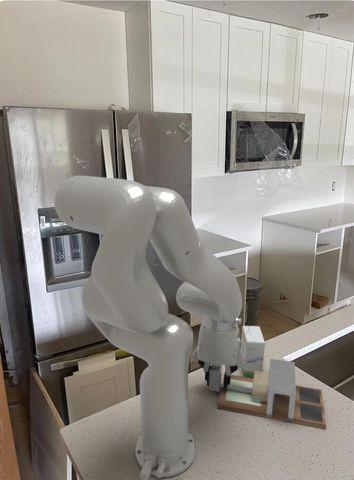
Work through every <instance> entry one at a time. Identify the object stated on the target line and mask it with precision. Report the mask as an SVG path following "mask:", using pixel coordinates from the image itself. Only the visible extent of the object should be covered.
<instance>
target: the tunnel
mask: <svg viewBox="0 0 354 480" xmlns="http://www.w3.org/2000/svg"><path fill="white" fill-rule="evenodd" d="M295 362H296V361H295ZM295 362H294V361H287V360H283V359H282V360H281V359H276V358H270V359H269V372H268V373H269V387H268V400H267V414H268V415H267V414H266V419H270V420H272V419H271V418H272V417H271V416H269V414H271V415H272V406H273V394H274V393H276V394H282V395H288V396H290V398H289V408H288V418H289V419H288V420H289V422H288V423H291V422H292V421H293V420H292V419H293V418H294V408H295V398H296V386H297V385H296V364H295ZM267 416H268V417H267ZM269 417H271V418H269ZM290 418H292V419H291V422H290Z"/></svg>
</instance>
